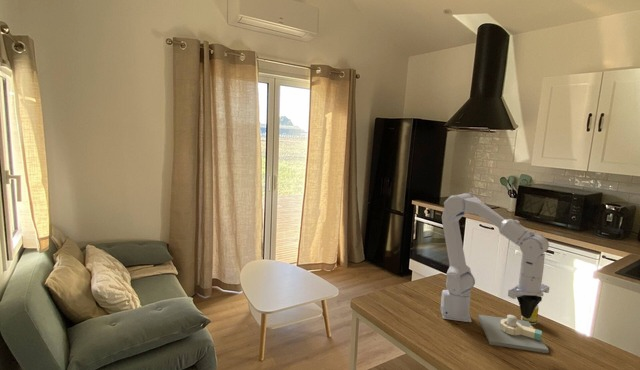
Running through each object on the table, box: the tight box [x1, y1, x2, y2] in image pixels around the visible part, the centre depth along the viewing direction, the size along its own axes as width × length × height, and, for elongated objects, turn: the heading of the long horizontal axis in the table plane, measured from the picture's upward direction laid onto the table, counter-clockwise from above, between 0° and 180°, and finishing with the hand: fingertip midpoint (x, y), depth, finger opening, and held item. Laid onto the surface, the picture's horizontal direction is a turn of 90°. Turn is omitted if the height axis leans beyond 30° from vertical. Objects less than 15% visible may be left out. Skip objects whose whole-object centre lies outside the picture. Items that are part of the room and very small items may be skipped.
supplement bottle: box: [520, 304, 539, 325], centre depth 116 cm, size 5×5×8 cm
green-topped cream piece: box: [500, 319, 543, 341], centre depth 106 cm, size 11×6×2 cm, turn 56°
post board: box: [477, 314, 550, 354], centre depth 108 cm, size 16×16×6 cm
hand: (525, 316), depth 101 cm, fingers closed
